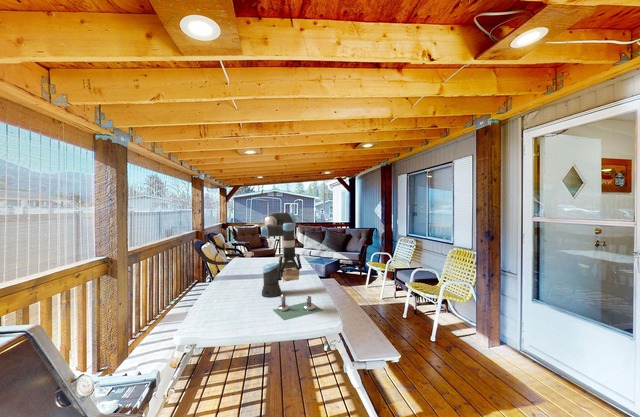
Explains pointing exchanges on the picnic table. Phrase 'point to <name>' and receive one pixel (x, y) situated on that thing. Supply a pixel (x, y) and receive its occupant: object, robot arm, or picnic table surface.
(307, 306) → the hub
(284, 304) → the stand
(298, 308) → the mat
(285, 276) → the square wooden frame
